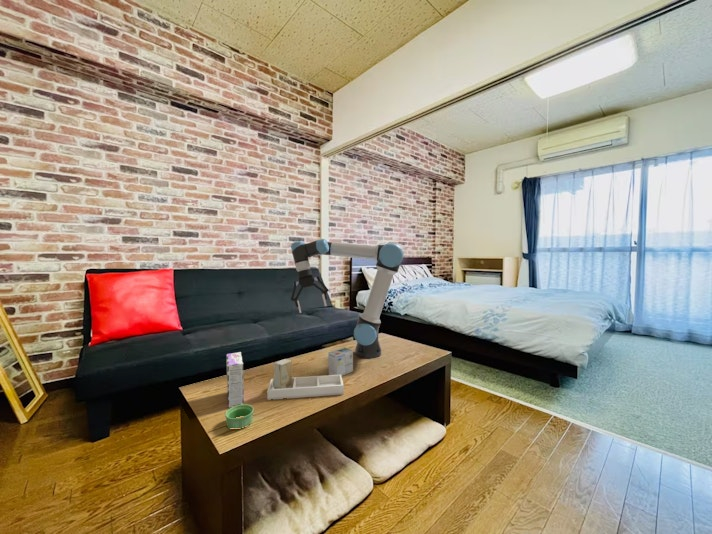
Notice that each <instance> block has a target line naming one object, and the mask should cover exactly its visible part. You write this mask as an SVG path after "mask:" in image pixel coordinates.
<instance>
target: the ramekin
mask: <svg viewBox="0 0 712 534" xmlns="http://www.w3.org/2000/svg"><path fill="white" fill-rule="evenodd" d="M254 412H255V411H254V406H252V405H251V404H246V403H244V404H242V405H237V406H234V407H229V409H227V410H226V412H225V414H224V416H225V420H226V427H227V426H228V427H229V428H242V427H245V426H247V425H249V424H250V423H251V422H252V423H253V418H254V417H253V416H254V414H253V413H254ZM240 416H244V417H241V418H236V417H240ZM252 423H251V424H252ZM251 424H250V425H251ZM250 425H249V426H250ZM228 427H227V428H228ZM229 428H228V429H229Z"/></svg>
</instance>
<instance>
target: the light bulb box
mask: <svg viewBox="0 0 712 534" xmlns="http://www.w3.org/2000/svg"><path fill="white" fill-rule="evenodd" d="M327 355H328V357H327V358H328V375H341V376H342V377H343V376H345V375H348V374H350V373H352V372H354V350H353V349H350V348H347V347H341V348H337V349H336V350H332V351H329V352H328V354H327Z"/></svg>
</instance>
